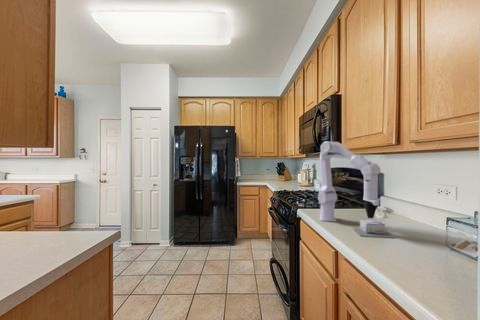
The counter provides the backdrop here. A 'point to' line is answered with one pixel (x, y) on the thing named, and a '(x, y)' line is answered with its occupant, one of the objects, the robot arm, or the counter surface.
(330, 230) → the counter surface
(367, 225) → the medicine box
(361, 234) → the mat
